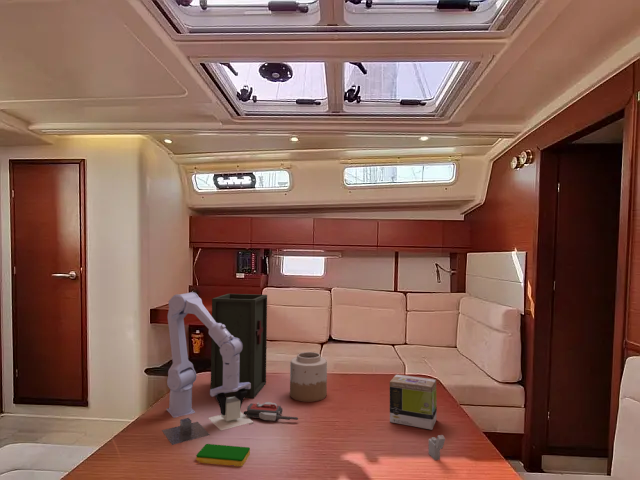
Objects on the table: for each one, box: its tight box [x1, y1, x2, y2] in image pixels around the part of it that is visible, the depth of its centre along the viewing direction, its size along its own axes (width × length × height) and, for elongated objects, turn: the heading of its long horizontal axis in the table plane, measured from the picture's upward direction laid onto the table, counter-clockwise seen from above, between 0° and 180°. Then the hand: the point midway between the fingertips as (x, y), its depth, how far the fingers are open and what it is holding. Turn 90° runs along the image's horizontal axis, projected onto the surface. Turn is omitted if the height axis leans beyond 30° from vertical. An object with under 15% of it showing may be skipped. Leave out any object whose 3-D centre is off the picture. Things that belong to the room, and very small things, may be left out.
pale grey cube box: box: [220, 396, 241, 421], centre depth 143 cm, size 5×5×6 cm
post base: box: [161, 417, 211, 446], centre depth 133 cm, size 12×12×4 cm
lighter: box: [428, 434, 446, 461], centre depth 120 cm, size 7×2×8 cm, turn 11°
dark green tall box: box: [210, 293, 268, 399], centre depth 176 cm, size 18×18×40 cm
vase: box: [289, 351, 328, 403], centre depth 170 cm, size 15×15×17 cm
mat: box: [208, 410, 255, 432], centre depth 143 cm, size 12×12×1 cm
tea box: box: [389, 374, 438, 431], centre depth 145 cm, size 15×10×15 cm, turn 65°
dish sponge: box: [195, 443, 251, 467], centre depth 119 cm, size 7×14×2 cm, turn 81°
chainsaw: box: [243, 401, 299, 422], centre depth 147 cm, size 9×4×20 cm
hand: (230, 412), depth 144 cm, fingers closed on pale grey cube box, 5 cm apart
